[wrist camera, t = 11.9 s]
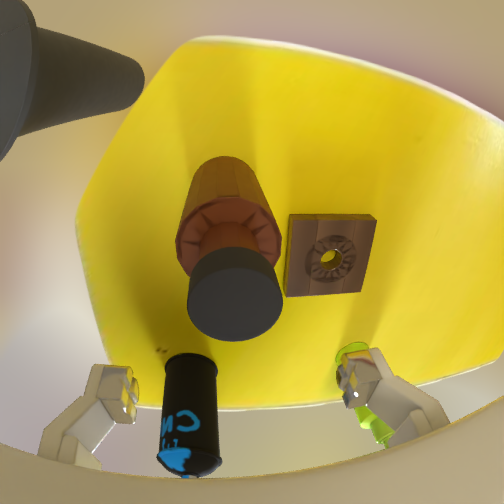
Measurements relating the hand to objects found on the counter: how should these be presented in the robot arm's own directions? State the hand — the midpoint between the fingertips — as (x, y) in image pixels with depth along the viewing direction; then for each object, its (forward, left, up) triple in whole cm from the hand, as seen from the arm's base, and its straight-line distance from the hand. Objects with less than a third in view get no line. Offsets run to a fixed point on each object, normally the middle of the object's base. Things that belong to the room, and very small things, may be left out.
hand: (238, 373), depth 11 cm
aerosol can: (-6, -28, -23) cm, 37 cm away
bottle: (0, 0, -23) cm, 23 cm away
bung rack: (+12, -8, -23) cm, 27 cm away
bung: (0, 0, -8) cm, 8 cm away
